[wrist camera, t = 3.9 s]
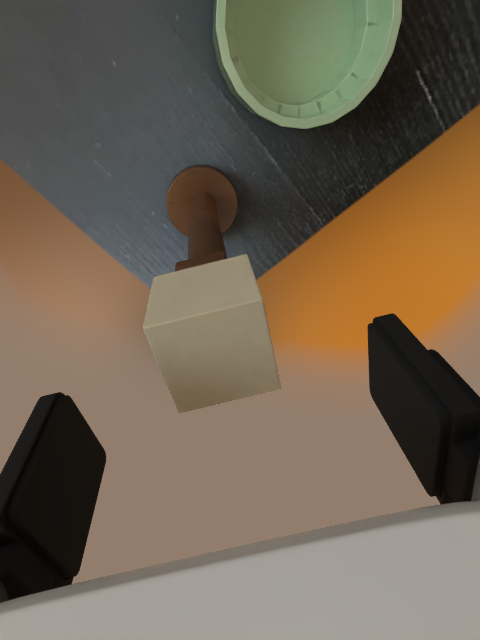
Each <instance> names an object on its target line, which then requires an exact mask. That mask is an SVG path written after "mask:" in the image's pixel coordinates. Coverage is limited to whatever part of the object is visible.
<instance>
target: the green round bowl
mask: <svg viewBox="0 0 480 640" xmlns="http://www.w3.org/2000/svg"><path fill="white" fill-rule="evenodd" d="M401 17H402V0H215V1H214V10H213V30H212V37H213V38H212V39H213V44H214V49H215V54H216V59H217V63H218V67H219V70H220V72H221V74H222V76H223V78H224V80H225V82H226V84H227V86H228V88H229V90H230V92H231V93H232V95H233V96H234V97H235V98H236V99H237V100H238V101H239V102H240V103H241V104H242V105H243V106H244V107H245V108H246V109H247V110H248V111H249V112H250V113H252V114H254V115H256V116H258V117H260V118H262V119H264V120H266V121H268V122H270V123H273V124H276V125H279V126H282V127H291V128H300V129H309V128H313V127H317V126H321V125H325V124H329V123H332V122H334V121H336V120H337V119H339V118H340V117H342V116H343V115H345V114H347V113H348V112H350V111H351V110H353V109H354V108H356V107H357V106H358V105H359V104H360V102H361V101H362V100H363V99H364V98H365V97H366V96H367V95H368V93H369V92H370V91H371V90H372V89H373V88H374V87H375V85H376V83H378V81H379V79H380V77H381V75H382V73H383V71H384V69H385V67H386V65H387V63H388V62H389V60H390V58H391V56H392V53H393V51H394V47H395V43H396V39H397V35H398V31H399V27H400V23H401V19H402V18H401Z"/></svg>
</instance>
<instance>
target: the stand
mask: <svg viewBox="0 0 480 640" xmlns="http://www.w3.org/2000/svg"><path fill="white" fill-rule="evenodd" d="M166 206H167V212H168V215H169V218H170V220H171V221H172V223H173V224H174V226H175V227H176V228H177V229H178V230H179V231H180V232H181V233H183V234H185V235H186V236H188V237H189V238H188V260H185V261H181V262H177V263H176V267H175V272H176V271H180V270H184V269H188V268H192V267H196V266H200V265H204V264H208V263H212V262H216V261H221V260H225V259H227V255H226V251H225V246H224V241H223V237H222V234H223V233H224V232H225V231H226V230H227V229H228V228H229V227H230V226H231V224H232V223H233V221H234V219H235V217H236V213H237V207H238V201H237V195H236V192H235V190H234V187H233V185H232V183H231V182H230V180H229V179H228V177H227V176H226V175H225V174H224V173H222V172H221V171H220V170H218V169H216V168H214V167H212V166H208V165H194V166H190V167H187V168H185V169H184V170H182V171H181V172H179V173H178V174H177V175H176V176H175V178H174V179H173V180H172V182H171V184H170V186H169V190H168V193H167V199H166Z"/></svg>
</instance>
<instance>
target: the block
mask: <svg viewBox="0 0 480 640" xmlns="http://www.w3.org/2000/svg"><path fill="white" fill-rule="evenodd" d="M143 331H144V333H145V335H146V337H147V340H148V342H149V344H150V347H151V349H152V351H153V354H154V356H155V358H156V361H157V363H158V365H159V368H160V370H161V372H162V375H163V377H164V379H165V382H166V384H167V386H168V389H169V391H170V393H171V395H172V398H173V400H174V402H175V405H176V407H177V409H178V412H179V413H182V412H187V411H191V410H195V409H199V408H203V407H207V406H212V405H216V404H220V403H224V402H228V401H232V400H236V399H241V398H245V397H249V396H253V395H257V394H262V393H266V392H270V391H274V390H278V389H281V385H280V380H279V375H278V370H277V366H276V361H275V356H274V351H273V347H272V342H271V337H270V332H269V327H268V323H267V317H266V313H265V308H264V303H263V299H262V296H261V293H260V290H259V287H258V284H257V281H256V279H255V276H254V273H253V270H252V267H251V264H250V261H249V258H248V256H247V254H245V255H241V256H237V257H233V258H229V259H225V260H221V261H216V262H212V263H208V264H204V265H200V266H196V267H192V268H188V269H184V270H180V271H176V272H172V273H168V274H164V275H160V276H156V277H153V282H152V287H151V291H150V296H149V301H148V306H147V310H146V316H145V320H144V325H143Z"/></svg>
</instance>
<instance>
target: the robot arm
mask: <svg viewBox="0 0 480 640" xmlns="http://www.w3.org/2000/svg"><path fill="white" fill-rule="evenodd" d="M368 351H369V352H368V354H369V384H370V393H371V396H372V398H373V400H374V402H375V404H376V405H377V407H378V409H379V410H380V412H381V414H382V416H383V418H384V419H385V421H386V423H387V425H388V426H389V428H390V430H391V431H392V433H393V435H394V437H395V438H396V440H397V442H398V443H399V445H400V447H401V449H402V450H403V452H404V454H405V456H406V457H407V459H408V461H409V462H410V464H411V466H412V468H413V469H414V471H415V473H416V475H417V476H418V478H419V480H420V482H421V483H422V485H423V487H424V488H425V490H426V492H427V493H428V494H429V496H431V497H432V496H436V497H437V499H438V500H439V502H440V504H441V505H435V506H428V507H422V508H418V509H413V510H408V511H402V512H397V513H393V514H387V515H382V516H377V517H372V518H368V519H363V520H358V521H353V522H349V523H344V524H339V525H335V526H330V527H326V528H321V529H317V530H312V531H307V532H303V533H298V534H293V535H289V536H284V537H280V538H275V539H271V540H266V541H262V542H257V543H252V544H248V545H244V546H239V547H234V548H230V549H225V550H221V551H216V552H212V553H208V554H203V555H199V556H194V557H190V558H185V559H181V560H176V561H172V562H167V563H163V564H159V565H155V566H150V567H146V568H141V569H137V570H133V571H128V572H124V573H119V574H115V575H110V576H106V577H102V578H97V579H93V580H89V581H85V582H80V583H76V584H72V580H73V577H74V576H76V575H77V574H78V572H79V570H80V566H81V562H82V558H83V554H84V550H85V546H86V541H87V537H88V533H89V529H90V525H91V521H92V517H93V513H94V509H95V504H96V500H97V496H98V492H99V488H100V483H101V479H102V475H103V471H104V467H105V463H106V454H105V451H104V449H103V447H102V445H101V444H100V442H99V441H98V439H97V438H96V436H95V434H94V433H93V432H92V430H91V428H90V427H89V425H88V424H87V422H86V420H85V419H84V417H83V416H82V414H81V413H80V411H79V409H78V408H77V406H76V405H75V403H74V402H73V400H72V399H71V397H70V396H68V395H66V396H65V395H64V394H63V393H60V392H59V393H54V394H50V395H46V396H42V397H40V399H39V400H38V402H37V403H36V406H35V407H34V409H33V411H32V414H31V415H30V417H29V419H28V421H27V423H26V425H25V427H24V429H23V431H22V433H21V435H20V437H19V439H18V441H17V443H16V445H15V446H14V448H13V450H12V452H11V455H10V456H9V458H8V460H7V462H6V464H5V466H4V468H3V470H2V472H1V474H0V640H480V397H479V396H478V395H477V394H476V393H475V392H474V391H473V389H472V388H471V387H470V386H469V385H468V384H467V383H466V382H465V381H464V380H463V379H462V378H461V377H460V375H459V374H457V372H456V371H455V370H454V369H453V368H452V367H451V366H450V365H449V364H448V363H447V362H446V361H445V359H444V358H443V357H442V356H441V355H440V354H439V353H438V352H436V351H435V350H432V349H431V350H427V349H426V348H425V347H424V346H423V345H422V344H421V343H420V341H419V340H418V339H417V338H416V337H415V336H414V335H413V334H412V333H411V331H410V330H409V329H408V328H407V327H406V326H405V325H404V324H403V323H402V321H401V320H400V319H399V318H398V317H397V316H396V315H395V314H388V315H384V316H380V317H376V318H374V319H373V323H371V324H369V325H368Z"/></svg>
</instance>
